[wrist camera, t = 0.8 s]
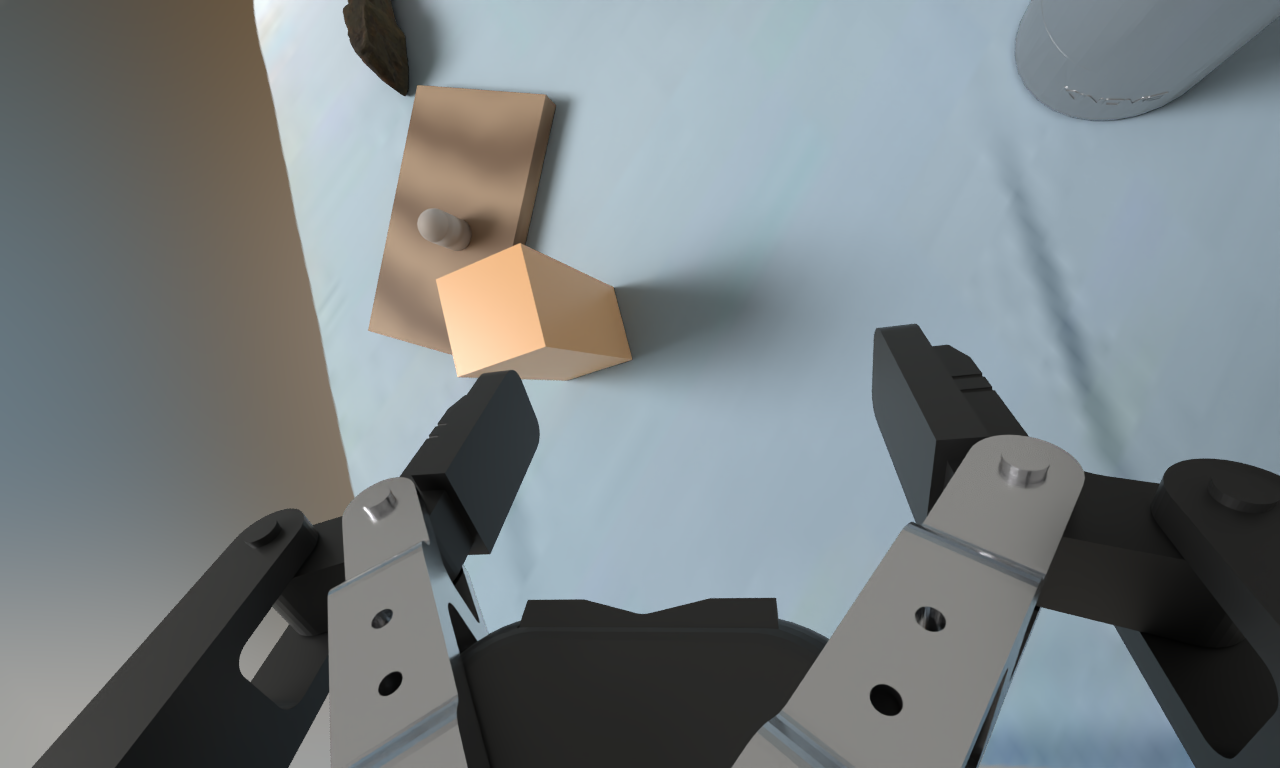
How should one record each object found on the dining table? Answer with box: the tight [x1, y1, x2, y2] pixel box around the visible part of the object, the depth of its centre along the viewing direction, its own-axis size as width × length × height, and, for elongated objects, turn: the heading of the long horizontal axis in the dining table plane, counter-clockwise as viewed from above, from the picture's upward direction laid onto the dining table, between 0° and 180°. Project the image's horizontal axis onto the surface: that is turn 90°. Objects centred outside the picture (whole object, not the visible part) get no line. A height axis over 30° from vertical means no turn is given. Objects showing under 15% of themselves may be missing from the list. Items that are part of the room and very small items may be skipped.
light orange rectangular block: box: [436, 243, 632, 381], centre depth 32 cm, size 5×5×12 cm
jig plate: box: [368, 85, 556, 355], centre depth 39 cm, size 20×12×5 cm, turn 166°
